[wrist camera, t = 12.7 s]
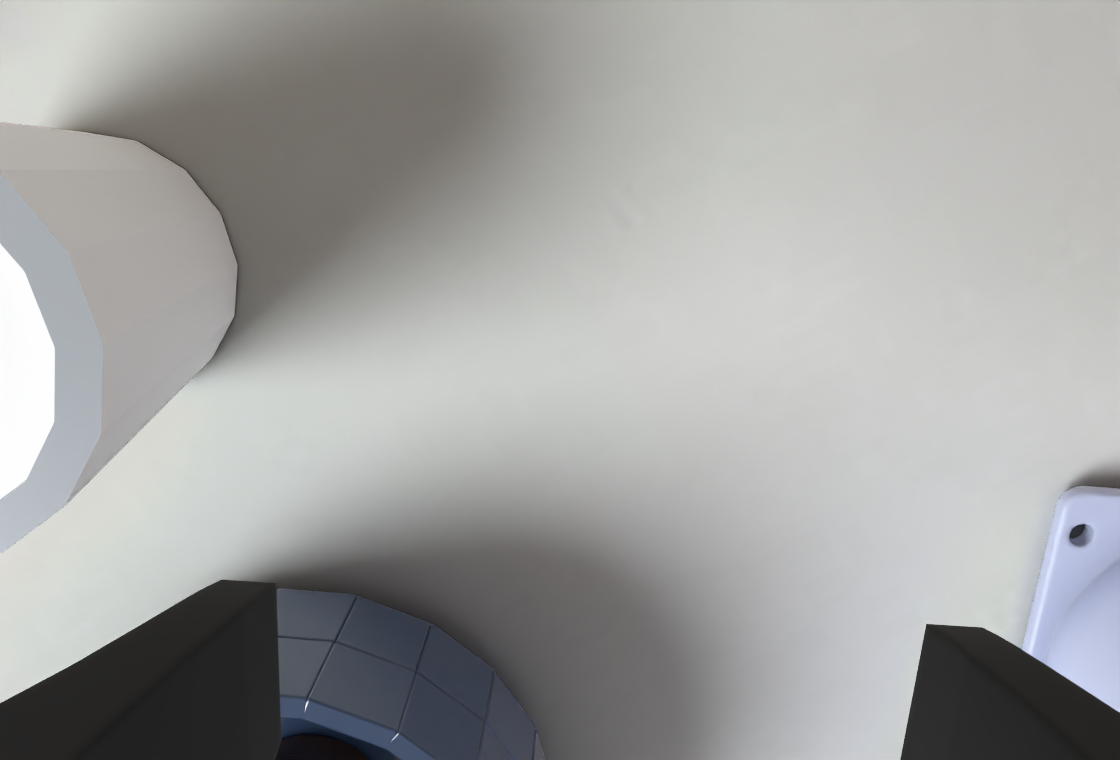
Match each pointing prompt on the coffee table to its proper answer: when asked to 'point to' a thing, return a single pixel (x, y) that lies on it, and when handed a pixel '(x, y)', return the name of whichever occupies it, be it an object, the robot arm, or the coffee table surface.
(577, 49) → the coffee table surface
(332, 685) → the bowl
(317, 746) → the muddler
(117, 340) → the white cylinder
